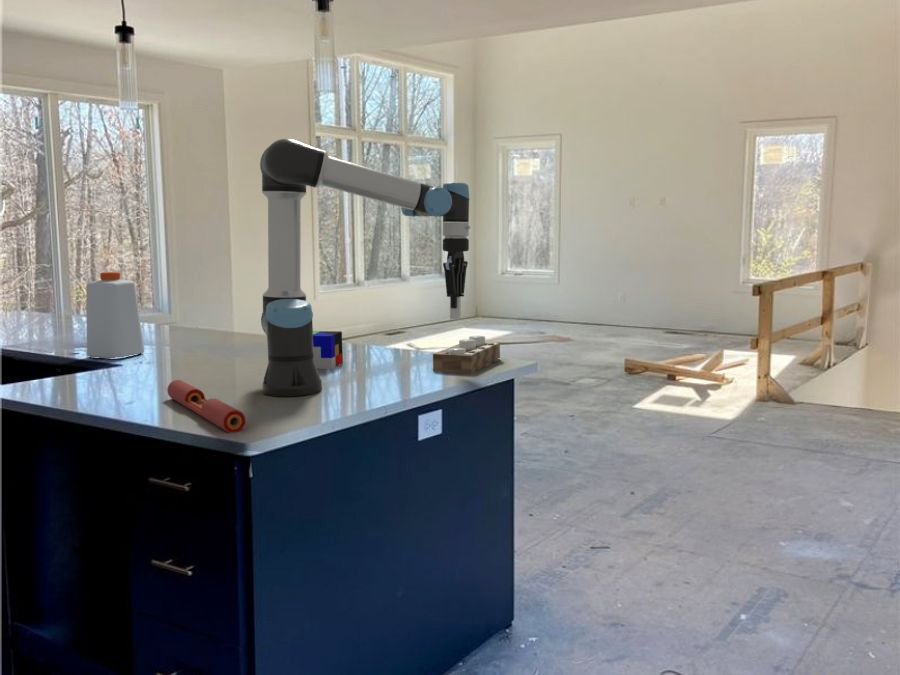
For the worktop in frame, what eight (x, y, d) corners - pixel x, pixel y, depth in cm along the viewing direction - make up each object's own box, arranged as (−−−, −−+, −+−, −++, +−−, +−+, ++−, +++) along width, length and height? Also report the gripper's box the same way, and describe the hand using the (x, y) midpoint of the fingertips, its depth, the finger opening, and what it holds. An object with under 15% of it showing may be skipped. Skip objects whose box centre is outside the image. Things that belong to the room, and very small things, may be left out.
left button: (461, 365, 237) (461, 350, 236) (446, 364, 238) (445, 350, 238) (468, 362, 241) (468, 348, 240) (452, 361, 243) (452, 347, 242)
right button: (481, 352, 251) (481, 338, 250) (466, 351, 253) (466, 337, 252) (487, 349, 255) (487, 336, 255) (472, 348, 257) (472, 335, 257)
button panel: (471, 373, 234) (471, 353, 233) (433, 370, 239) (432, 351, 238) (499, 359, 256) (499, 341, 255) (464, 357, 261) (464, 340, 260)
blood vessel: (167, 400, 206) (166, 381, 205) (187, 397, 208) (186, 378, 208) (223, 435, 171) (222, 412, 171) (246, 431, 174) (245, 408, 173)
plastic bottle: (81, 358, 269) (74, 273, 265) (114, 351, 283) (108, 270, 279) (117, 360, 264) (111, 274, 260) (150, 353, 278) (144, 271, 274)
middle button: (472, 356, 244) (472, 342, 243) (456, 355, 246) (456, 341, 245) (478, 353, 248) (478, 339, 248) (463, 352, 250) (462, 338, 249)
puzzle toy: (331, 369, 244) (330, 336, 243) (300, 368, 246) (299, 335, 245) (342, 363, 254) (341, 331, 253) (312, 362, 256) (311, 331, 255)
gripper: (459, 237, 227) (458, 322, 230) (476, 237, 239) (475, 317, 242) (434, 237, 230) (434, 321, 233) (452, 237, 242) (452, 316, 245)
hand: (455, 319), depth 238 cm, fingers closed
